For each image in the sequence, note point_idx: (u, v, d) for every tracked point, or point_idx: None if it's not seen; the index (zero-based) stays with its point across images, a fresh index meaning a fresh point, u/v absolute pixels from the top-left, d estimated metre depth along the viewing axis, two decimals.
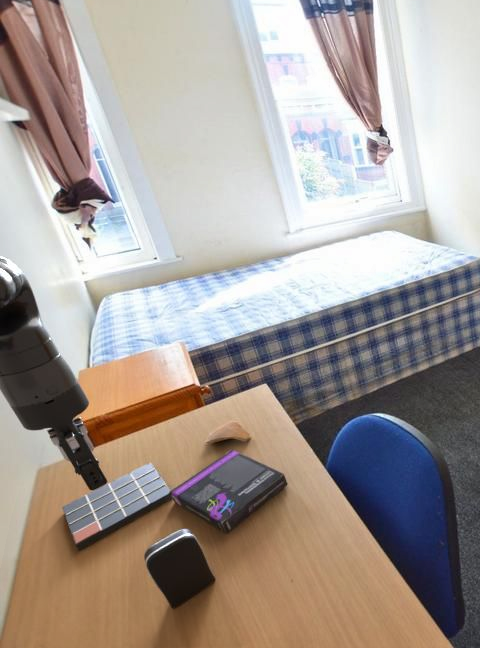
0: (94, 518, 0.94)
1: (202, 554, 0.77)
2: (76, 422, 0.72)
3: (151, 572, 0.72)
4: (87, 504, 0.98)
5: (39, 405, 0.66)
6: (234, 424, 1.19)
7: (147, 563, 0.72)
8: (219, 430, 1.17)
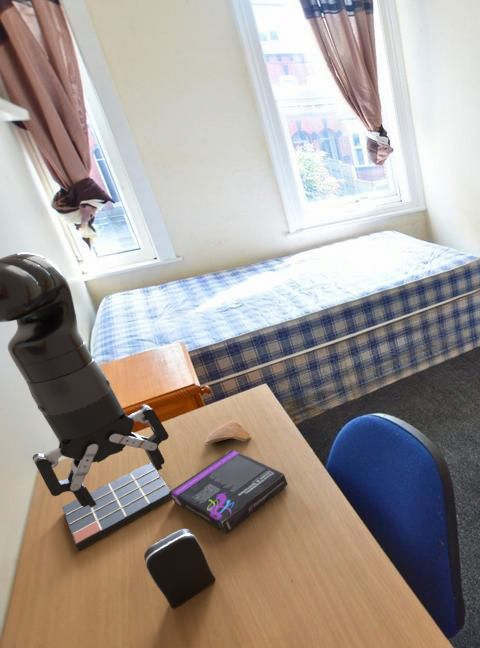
0: (94, 518, 0.94)
1: (202, 554, 0.77)
2: (107, 437, 0.67)
3: (151, 572, 0.72)
4: None
5: None
6: (234, 424, 1.19)
7: (147, 563, 0.72)
8: (219, 430, 1.17)
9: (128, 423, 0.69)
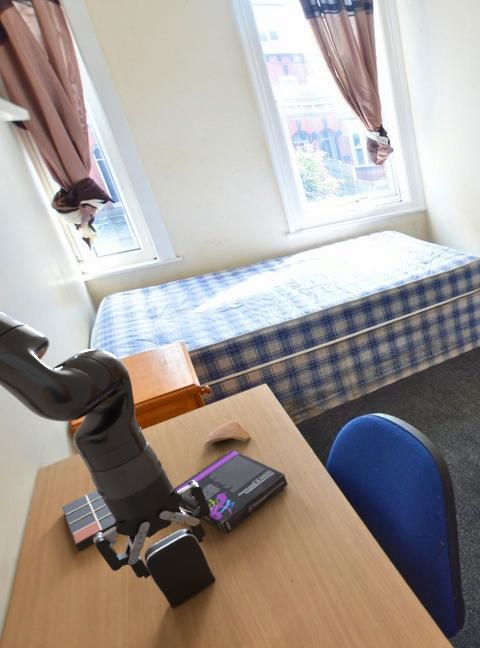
0: (94, 518, 0.94)
1: (202, 554, 0.77)
2: (158, 514, 0.72)
3: (151, 572, 0.72)
4: (87, 504, 0.98)
5: None
6: (234, 424, 1.19)
7: (147, 563, 0.72)
8: (219, 430, 1.17)
9: (177, 499, 0.73)
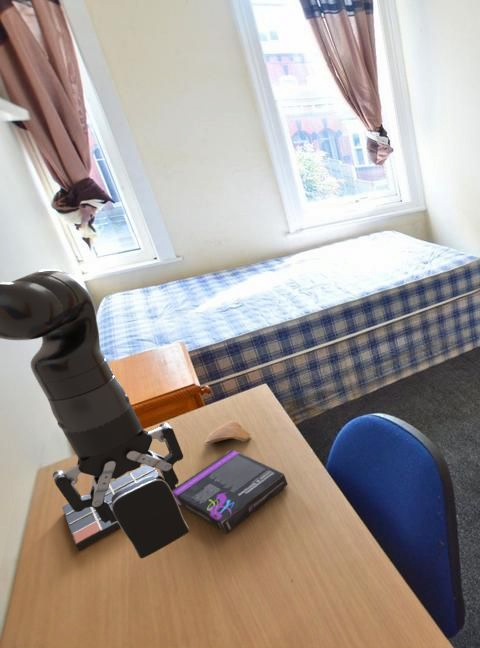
0: (94, 518, 0.94)
1: (174, 502, 0.72)
2: (125, 454, 0.67)
3: (117, 517, 0.67)
4: None
5: None
6: (234, 424, 1.19)
7: (113, 507, 0.67)
8: (219, 430, 1.17)
9: (146, 440, 0.69)
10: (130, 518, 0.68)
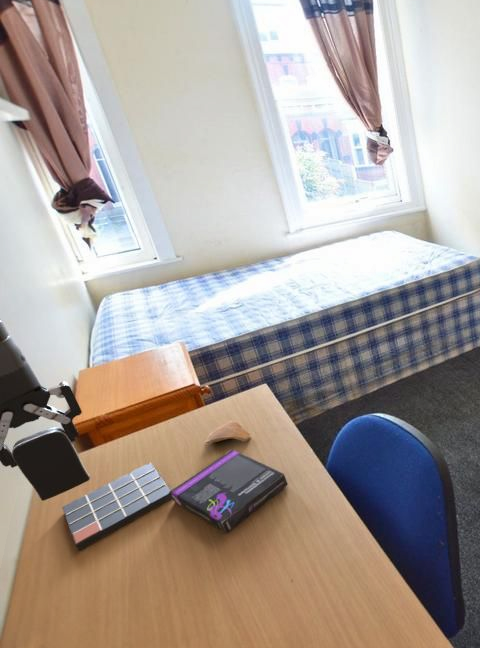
0: (94, 518, 0.94)
1: (73, 452, 0.82)
2: (23, 406, 0.76)
3: (17, 461, 0.77)
4: (87, 504, 0.98)
5: None
6: (234, 424, 1.19)
7: (13, 452, 0.76)
8: (219, 430, 1.17)
9: (43, 395, 0.78)
10: (29, 463, 0.78)
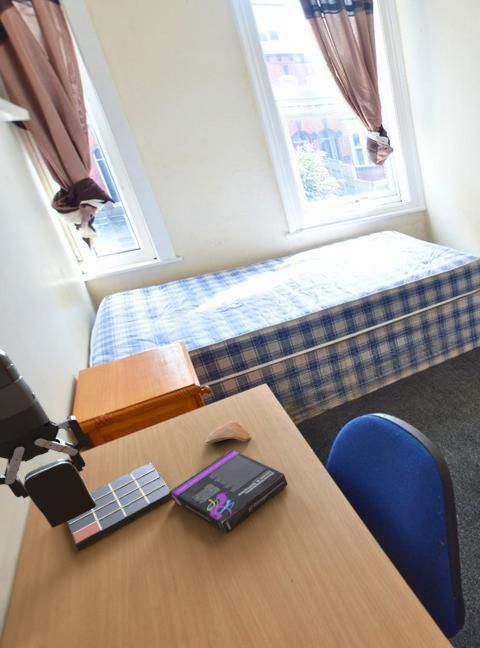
0: (94, 518, 0.94)
1: (81, 481, 0.87)
2: (33, 441, 0.81)
3: (28, 492, 0.82)
4: None
5: None
6: (234, 424, 1.19)
7: (24, 484, 0.82)
8: (219, 430, 1.17)
9: (53, 429, 0.83)
10: (40, 494, 0.83)
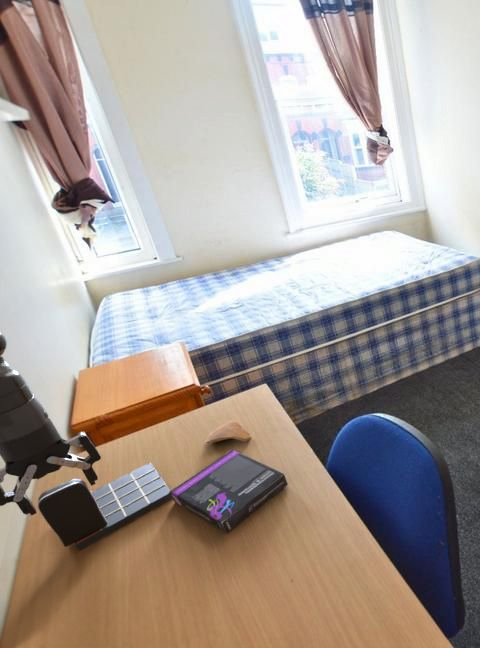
0: None
1: (93, 500, 0.89)
2: (46, 459, 0.83)
3: (42, 513, 0.84)
4: None
5: None
6: (234, 424, 1.19)
7: (39, 505, 0.84)
8: (219, 430, 1.17)
9: (64, 447, 0.85)
10: (54, 514, 0.85)
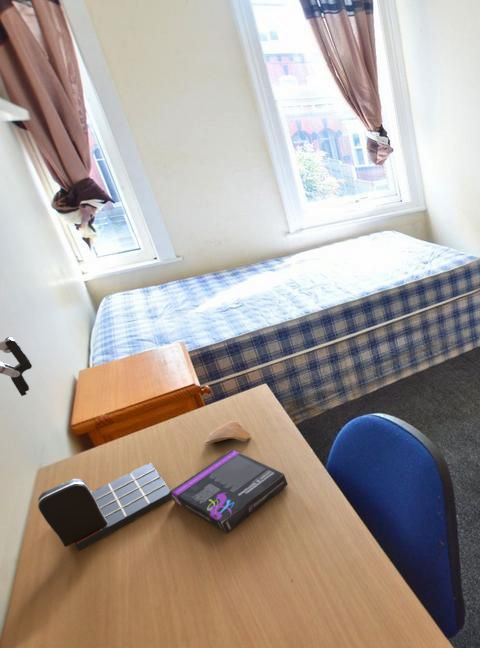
0: None
1: (93, 500, 0.89)
2: None
3: (42, 513, 0.84)
4: None
5: None
6: (234, 424, 1.19)
7: (39, 505, 0.84)
8: (219, 430, 1.17)
9: None
10: (54, 514, 0.85)
